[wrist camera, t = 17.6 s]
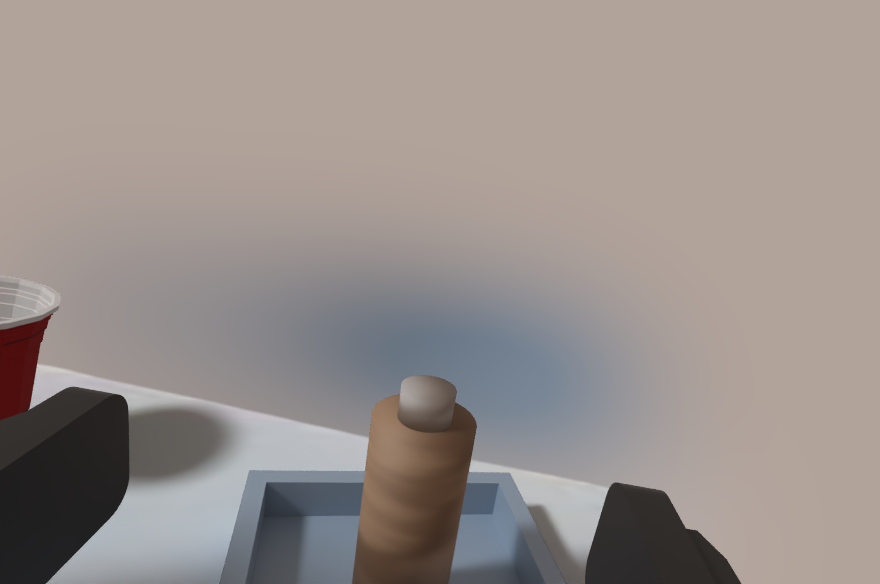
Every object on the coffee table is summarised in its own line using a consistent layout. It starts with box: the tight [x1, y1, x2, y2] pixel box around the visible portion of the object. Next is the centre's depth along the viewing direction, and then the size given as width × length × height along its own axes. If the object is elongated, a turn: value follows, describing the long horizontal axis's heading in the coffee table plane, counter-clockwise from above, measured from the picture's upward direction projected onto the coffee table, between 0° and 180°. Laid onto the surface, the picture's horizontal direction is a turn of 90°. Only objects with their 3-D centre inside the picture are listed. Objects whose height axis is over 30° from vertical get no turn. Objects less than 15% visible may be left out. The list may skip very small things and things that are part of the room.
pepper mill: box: [352, 375, 477, 584], centre depth 26 cm, size 5×5×14 cm
